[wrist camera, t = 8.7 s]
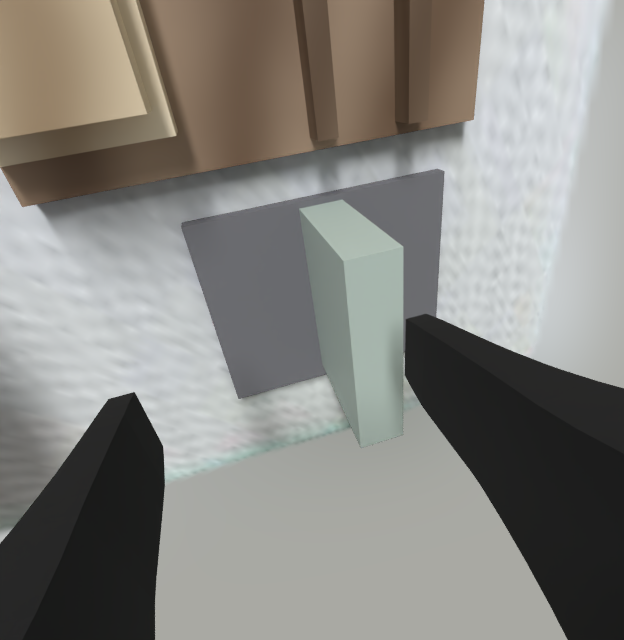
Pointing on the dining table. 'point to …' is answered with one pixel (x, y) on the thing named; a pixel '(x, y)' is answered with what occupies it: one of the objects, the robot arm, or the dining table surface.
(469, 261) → the dining table surface
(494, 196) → the dining table surface
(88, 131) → the lower pine offcut
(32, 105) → the upper pine offcut
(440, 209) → the charcoal mat
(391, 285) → the sage panel
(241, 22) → the walnut rack
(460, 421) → the robot arm
